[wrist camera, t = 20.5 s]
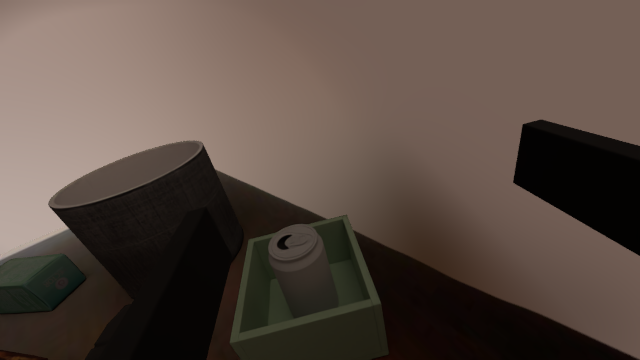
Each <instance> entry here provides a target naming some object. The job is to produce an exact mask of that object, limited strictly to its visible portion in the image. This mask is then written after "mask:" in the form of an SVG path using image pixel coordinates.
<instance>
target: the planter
mask: <svg viewBox="0 0 640 360" xmlns="http://www.w3.org/2000/svg"><path fill="white" fill-rule="evenodd" d="M49 206H50V208H51V209H52V210H53V211H54V212H55V213H56V214H57V215H58V217H59V218H60V219H61V220H62V221H63V222H64V223H65V224H66V225H67V227H68V228H69V229H70V230H71V231H72V232H73V233H74V234H75V235H76V237H77V238H78V239H79V240H80V241H81V242H82V243H83V244H84V245H85V246H86V248H87V249H88V250H89V251H90V252H91V253H92V254H93V255H94V256H95V257H96V259H97V260H98V261H99V262H100V263H101V264H102V265H103V266H104V267H105V268H106V270H107V271H108V272H109V273H110V274H111V275H112V276H113V277H114V278H115V279H116V280H117V281H118V283H119V284H120V285H121V286H122V287H123V288H124V289H125V290H126V291H127V293H128V294H129V295H130V296H131V297H132V298H133V299H135V297H136V296H137V294H138V292H139V291H140V289H141V287H142V286H143V284H144V282H145V281H146V279H147V277H148V276H149V274H150V273H151V271H152V269H153V268H154V266H155V264H156V263H157V261H158V259H159V258H160V256H161V254H162V253H163V251H164V249H165V248H166V246H167V244H168V243H169V241H170V239H171V238H172V236H173V235H174V233H175V231H176V230H177V228H178V226H179V225H180V223H181V221H182V220H183V218H184V216H185V215H186V213H187V211H191V210H195V209H199V208H203V207H207V209H208V211H209V213H210V215H211V217H212V219H213V220H214V222H215V224H216V226H217V228H218V230H219V232H220V234H221V235H222V237H223V239H224V241H225V243H226V245H227V247H228V248H229V250H230V252H231V254H232V260H233V259H234V257H235V256H236V254H237V253H238V251H239V249H240V247H241V244H242V241H243V230H242V228H241V226H240V224H239V221H238V219H237V217H236V215H235V213H234V211H233V208H232V206H231V204H230V202H229V200H228V197H227V195H226V193H225V191H224V189H223V186H222V184H221V182H220V180H219V178H218V175H217V173H216V171H215V169H214V167H213V165H212V163H211V160H210V158H209V156H208V154H207V152H206V150H205V147H204V145H203V143H201V142H199V141H183V142H177V143H172V144H168V145H163V146H159V147H155V148H152V149H149V150H145V151H143V152H139V153H136V154H133V155H131V156H128V157H125V158H123V159H120V160H118V161H115V162H113V163H110V164H108V165H106V166H103V167H102V168H99V169H97V170H95V171H93V172H91V173H89V174H87V175H85V176H83V177H81V178H79V179H77V180H76V181H74V182H72V183H70V184H69V185H67V186H66V187H64V188H63V189H61V190H60V191H59V192H57V193H56V194H55V195H54V196H53V197H52V198H51V199H50V201H49ZM232 260H231V261H232Z"/></svg>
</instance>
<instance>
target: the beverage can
mask: <svg viewBox="0 0 640 360" xmlns="http://www.w3.org/2000/svg"><path fill="white" fill-rule="evenodd" d="M268 250H269V256H268V258H269V262H270V265H271V267H272V269H273V271H274V274H275V276H276V278H277V281H278V283H279V285H280V288H281V290H282V292H283V295H284V297H285V299H286V302H287V304H288V306H289V308H290V311H291V313H292V315H293V317H294V319H295V318H299V317H303V316H307V315H310V314H314V313H318V312H322V311H326V310H329V309H333V308H337V307H338V302H339V301H338V295H337V291H336V287H335V284H334V280H333V277H332V273H331V269H330V266H329V262H328V259H327V255H326V251H325V248H324V244H323V241H322V238H321V237H320V236H319V235H318V234H317V232H316V230H315V229H314V228H313V227H311V226H309V225H305V224H296V225H292V226H288V227H286V228H284V229H282V230H280V231H279V232H278V233H276V234H275V235H274V236H273V237H272V239H271V240H270V242H269V246H268Z"/></svg>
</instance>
